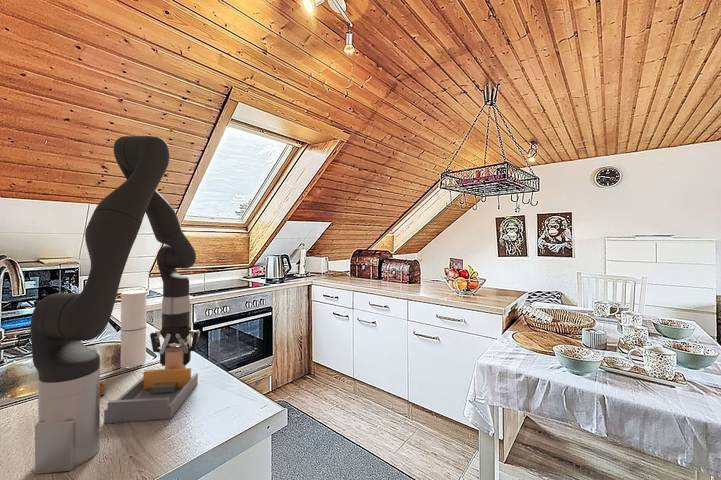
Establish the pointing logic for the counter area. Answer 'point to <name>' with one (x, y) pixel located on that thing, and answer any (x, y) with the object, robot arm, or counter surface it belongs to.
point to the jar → (174, 357)
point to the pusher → (165, 379)
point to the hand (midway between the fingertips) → (175, 364)
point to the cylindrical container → (133, 328)
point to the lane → (147, 403)
